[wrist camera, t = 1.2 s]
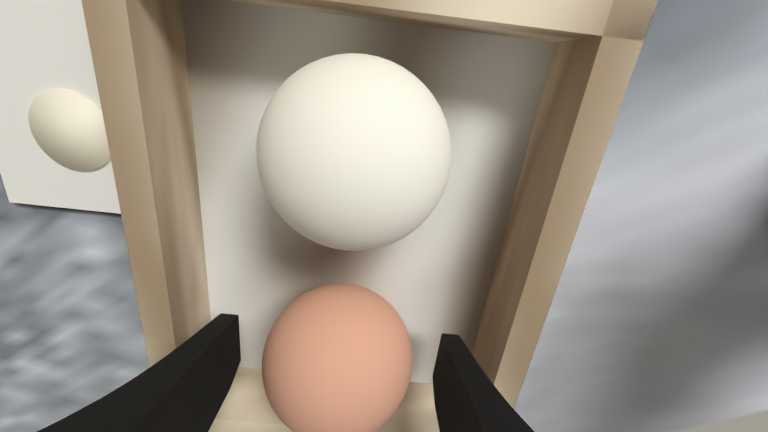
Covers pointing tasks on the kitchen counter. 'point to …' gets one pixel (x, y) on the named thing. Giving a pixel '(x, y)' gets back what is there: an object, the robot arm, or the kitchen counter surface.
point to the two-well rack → (388, 263)
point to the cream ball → (353, 152)
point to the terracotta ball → (337, 361)
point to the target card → (51, 109)
